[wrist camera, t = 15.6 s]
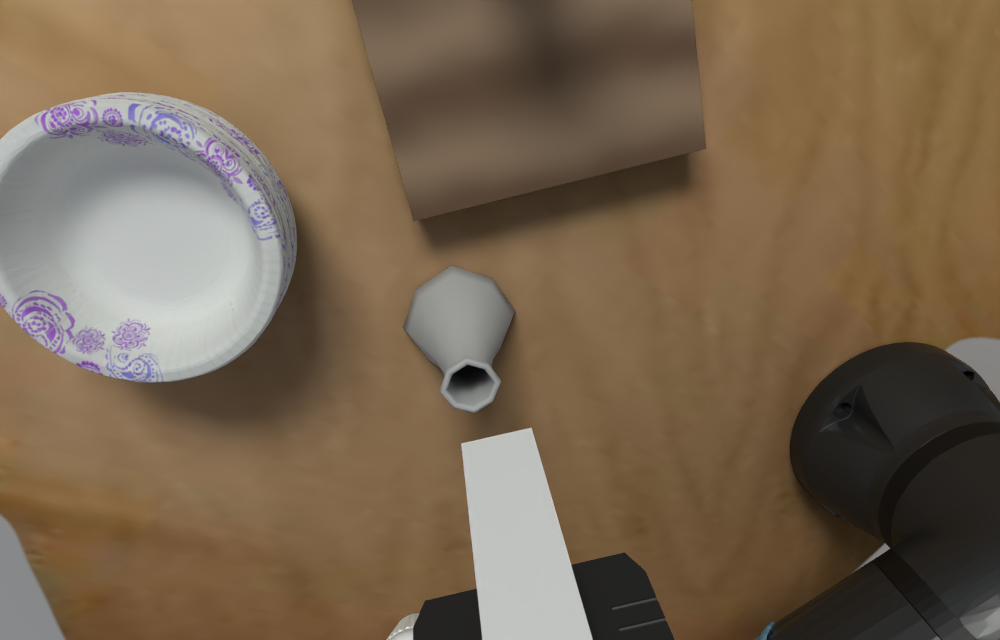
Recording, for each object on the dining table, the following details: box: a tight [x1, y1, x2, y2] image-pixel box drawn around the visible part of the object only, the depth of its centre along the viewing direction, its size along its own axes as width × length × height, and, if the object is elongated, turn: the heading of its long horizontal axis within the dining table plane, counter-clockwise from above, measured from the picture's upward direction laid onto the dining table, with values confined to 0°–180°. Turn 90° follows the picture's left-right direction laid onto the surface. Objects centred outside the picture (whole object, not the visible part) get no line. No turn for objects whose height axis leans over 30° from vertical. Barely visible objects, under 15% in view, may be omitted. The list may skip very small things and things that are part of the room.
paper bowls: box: [0, 92, 297, 383], centre depth 39 cm, size 15×15×8 cm
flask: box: [403, 266, 515, 413], centre depth 43 cm, size 7×7×10 cm
